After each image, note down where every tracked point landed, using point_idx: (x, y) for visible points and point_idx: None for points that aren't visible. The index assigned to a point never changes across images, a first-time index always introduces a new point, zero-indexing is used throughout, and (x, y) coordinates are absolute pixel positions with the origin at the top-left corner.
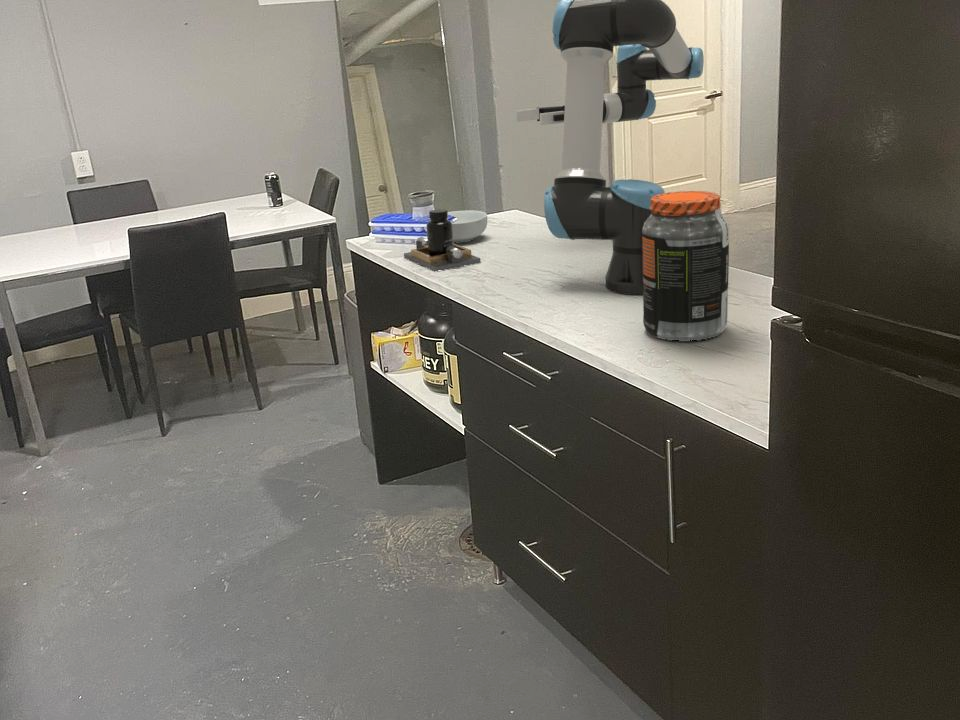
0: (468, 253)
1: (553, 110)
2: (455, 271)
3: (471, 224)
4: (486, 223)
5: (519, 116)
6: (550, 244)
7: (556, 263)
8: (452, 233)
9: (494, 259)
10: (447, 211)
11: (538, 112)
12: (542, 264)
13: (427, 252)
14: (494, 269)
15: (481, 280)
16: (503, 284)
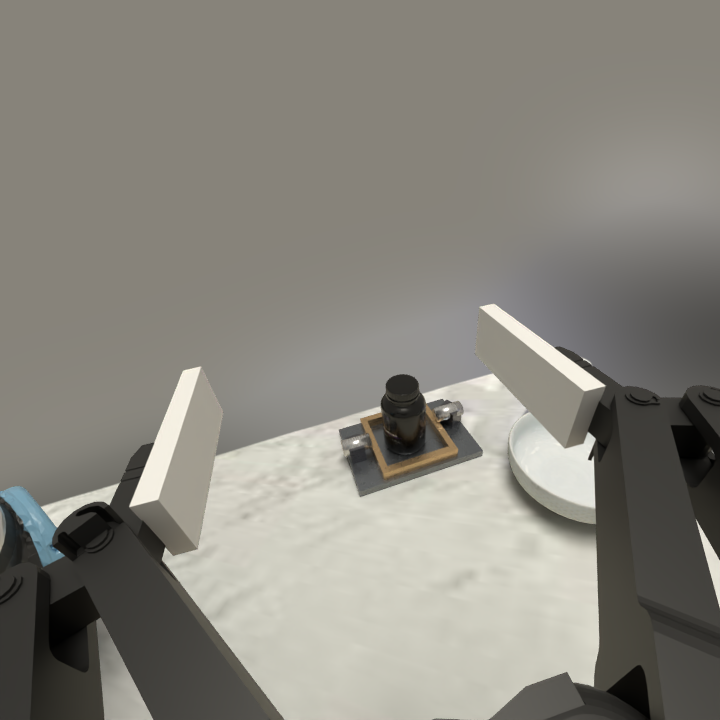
0: (381, 472)
1: (616, 518)
2: (326, 457)
3: (521, 474)
4: (576, 515)
5: (484, 340)
6: (483, 711)
7: (267, 655)
8: (397, 430)
9: (374, 523)
10: (400, 396)
11: (574, 411)
12: (280, 615)
13: (429, 422)
14: (303, 512)
15: (253, 484)
16: (207, 511)
